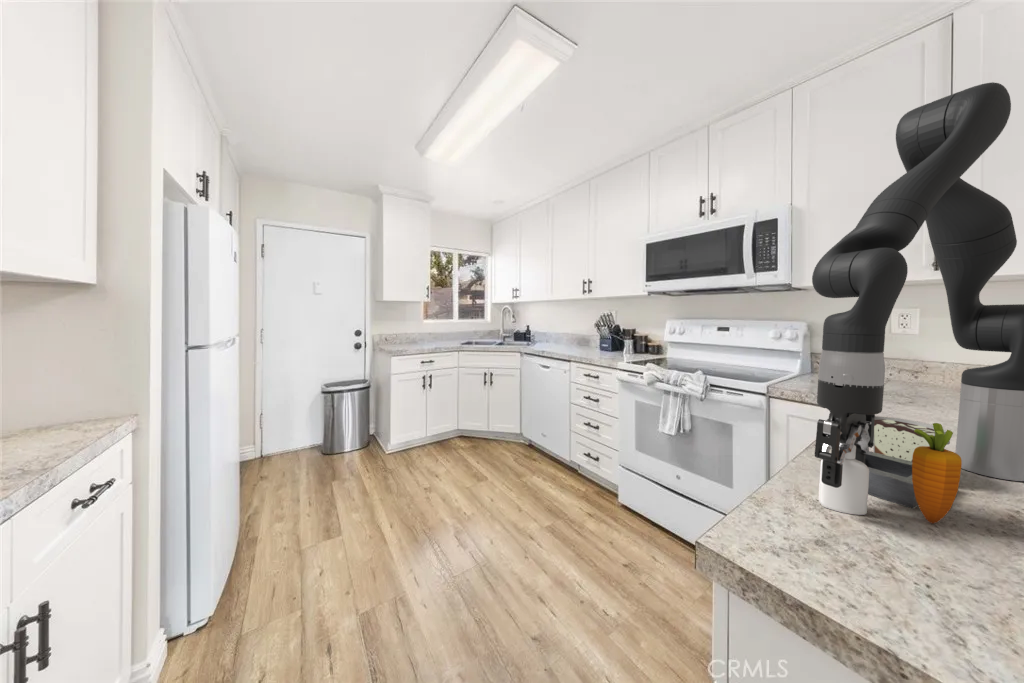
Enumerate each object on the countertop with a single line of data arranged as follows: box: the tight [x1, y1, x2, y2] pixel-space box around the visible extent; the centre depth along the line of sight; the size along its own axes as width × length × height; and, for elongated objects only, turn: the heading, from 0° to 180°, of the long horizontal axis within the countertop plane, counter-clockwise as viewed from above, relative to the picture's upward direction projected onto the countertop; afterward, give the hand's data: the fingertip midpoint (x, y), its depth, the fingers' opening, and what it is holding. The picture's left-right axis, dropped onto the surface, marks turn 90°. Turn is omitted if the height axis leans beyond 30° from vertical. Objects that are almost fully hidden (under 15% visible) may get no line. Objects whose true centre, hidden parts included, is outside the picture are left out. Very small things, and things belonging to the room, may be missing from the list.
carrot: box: [912, 422, 962, 525], centre depth 52 cm, size 5×5×15 cm
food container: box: [872, 415, 951, 461], centre depth 70 cm, size 12×6×10 cm, turn 179°
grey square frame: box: [864, 450, 919, 510], centre depth 65 cm, size 13×11×4 cm
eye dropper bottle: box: [818, 445, 869, 516], centre depth 57 cm, size 4×6×12 cm
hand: (843, 479), depth 57 cm, fingers open, 8 cm apart
